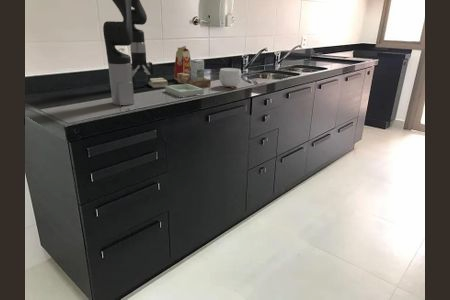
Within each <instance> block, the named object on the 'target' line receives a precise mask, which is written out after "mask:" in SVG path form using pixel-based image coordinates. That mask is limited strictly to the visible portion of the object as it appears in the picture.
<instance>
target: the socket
mask: <svg viewBox="0 0 450 300" xmlns="http://www.w3.org/2000/svg"><path fill="white" fill-rule="evenodd" d="M183 84H190V85H193V86H196V87H199V88H202V89H204V88H205V89H206V88H211V79H209V78H207V77H204V80H197V81H194V80H191V79H190V78H183Z"/></svg>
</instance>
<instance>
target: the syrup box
mask: <svg viewBox="0 0 450 300" xmlns="http://www.w3.org/2000/svg"><path fill="white" fill-rule="evenodd" d="M204 78H205V60H204V59H202V58H201V59H200V58H193V59H191V60H190V79H191V80H194V81H197V80H204Z"/></svg>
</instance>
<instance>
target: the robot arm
mask: <svg viewBox="0 0 450 300" xmlns="http://www.w3.org/2000/svg"><path fill="white" fill-rule="evenodd" d="M112 2H113V3H114V4H115V6H116V8H117V9H118V11H119V12H120V14H121V16H122V21H113V20H112V21H110V20H109V21H108V20H107V21H105V22H104V23H103V27H102V29H103V30H102V32H103V37H104V38H103V39H104V45H105V49H106V57H107V65H108V67H107V68H108V75H109V85H110V94H111V101H112V105H115V106H121V105H123V106H129V105H134V104H135V95H134V94H135V93H134V84H135V74H136V73H137V72H138V73H139V72H144V73H145V75H146V77H145V78H146V79H145V80H146V82H147V83H149V81H150V79H151V75H152V74H154V67H153V62H152V61H151V62H150V61H148V62H147V52H146V51H147V50H146V43H145V32H144V30H142V29H140V28H137V27H136V25H139V26H140V25H141V26H143V25H145V24H146V23H147V21H148V19H147V13H146V11H145V9H144V7H143V4H142V3H141V1H140V0H112ZM116 46H119V47H128V46H130V55H131V56H130V55H129V54H128V53H127V54H126V53H124V52H121V51H120V50H119V49H117V48H116ZM147 67H148V68H147Z"/></svg>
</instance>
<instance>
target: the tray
mask: <svg viewBox="0 0 450 300" xmlns="http://www.w3.org/2000/svg"><path fill="white" fill-rule="evenodd" d="M164 89H165V92H166V93H167V94H170V93H171V95H173V94H174V95H173V96H175V95H177V96H176V97H178V96H180V97H183V96H190V95H197V94H204V93H205V91H204V88H199V87H196V86H193V85H190V84H182V83H179V84H171V85H168V86H165V87H164ZM180 97H179V98H180ZM183 98H184V97H183Z"/></svg>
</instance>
